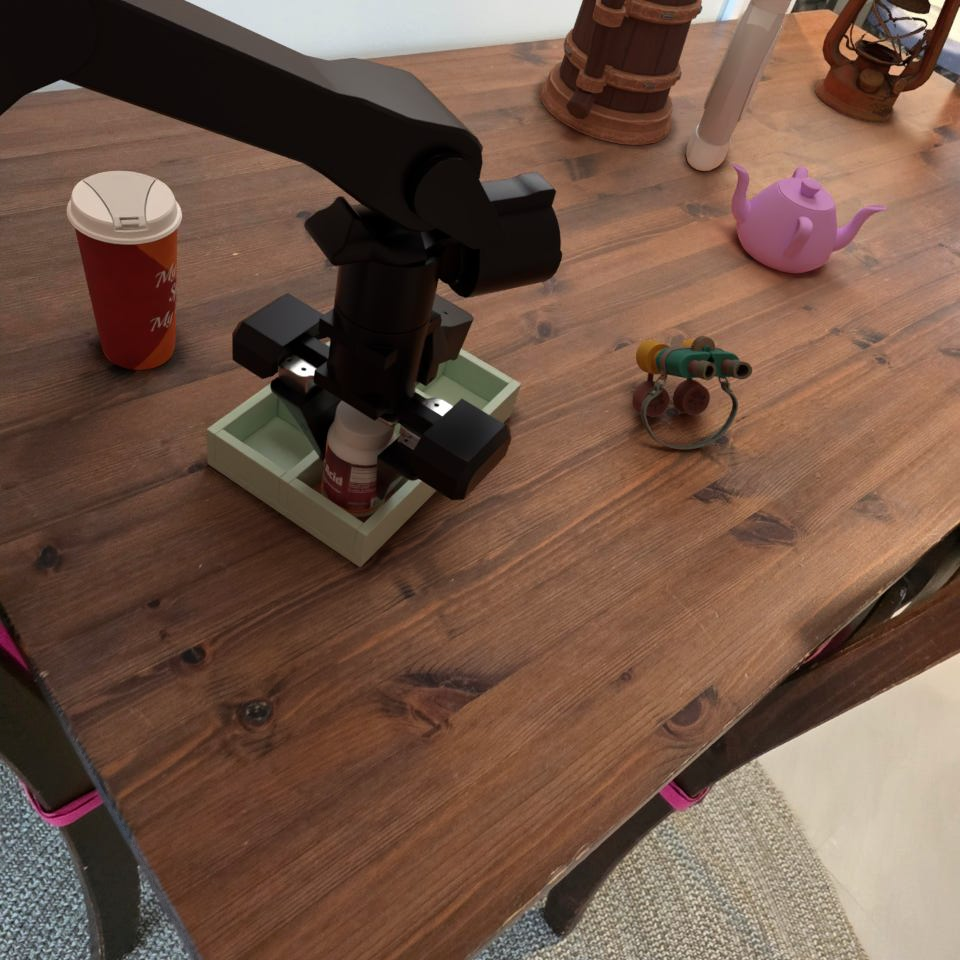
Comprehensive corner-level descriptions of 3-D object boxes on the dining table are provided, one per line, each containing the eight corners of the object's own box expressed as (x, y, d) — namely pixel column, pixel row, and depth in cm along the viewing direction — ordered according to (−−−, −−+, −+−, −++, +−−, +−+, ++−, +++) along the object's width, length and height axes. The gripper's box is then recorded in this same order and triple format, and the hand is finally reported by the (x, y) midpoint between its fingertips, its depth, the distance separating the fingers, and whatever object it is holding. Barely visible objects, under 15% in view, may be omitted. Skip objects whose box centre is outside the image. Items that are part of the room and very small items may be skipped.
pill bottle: (313, 474, 65) (322, 392, 59) (375, 466, 67) (390, 385, 61) (329, 524, 63) (340, 443, 57) (393, 514, 64) (411, 435, 58)
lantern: (799, 97, 137) (907, -126, 115) (806, 69, 146) (909, -144, 124) (904, 136, 136) (1034, -82, 114) (905, 105, 144) (1026, -103, 122)
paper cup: (196, 373, 72) (190, 225, 62) (94, 384, 69) (69, 230, 59) (179, 312, 76) (171, 164, 66) (82, 319, 73) (58, 165, 63)
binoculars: (705, 434, 83) (717, 327, 80) (765, 460, 75) (780, 342, 72) (616, 439, 80) (625, 328, 78) (668, 466, 72) (680, 343, 69)
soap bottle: (731, 190, 112) (825, -13, 94) (674, 167, 113) (757, -39, 95) (749, 150, 121) (838, -43, 103) (696, 129, 122) (776, -66, 104)
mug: (501, 113, 113) (541, -58, 98) (573, 63, 128) (617, -93, 113) (630, 173, 110) (691, 5, 95) (688, 114, 125) (749, -39, 110)
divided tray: (207, 463, 66) (206, 428, 63) (377, 335, 80) (383, 301, 77) (360, 568, 63) (366, 535, 60) (511, 415, 76) (521, 383, 74)
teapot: (848, 271, 105) (889, 206, 98) (765, 288, 99) (803, 220, 92) (783, 214, 111) (818, 149, 104) (701, 227, 105) (732, 158, 98)
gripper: (581, 318, 55) (520, 481, 66) (344, 185, 59) (325, 360, 71) (488, 408, 48) (438, 574, 59) (225, 250, 52) (226, 433, 64)
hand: (355, 476), depth 63 cm, fingers closed on pill bottle, 5 cm apart
